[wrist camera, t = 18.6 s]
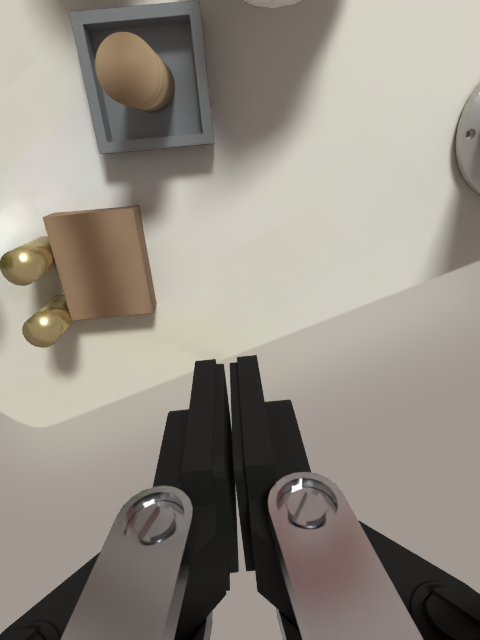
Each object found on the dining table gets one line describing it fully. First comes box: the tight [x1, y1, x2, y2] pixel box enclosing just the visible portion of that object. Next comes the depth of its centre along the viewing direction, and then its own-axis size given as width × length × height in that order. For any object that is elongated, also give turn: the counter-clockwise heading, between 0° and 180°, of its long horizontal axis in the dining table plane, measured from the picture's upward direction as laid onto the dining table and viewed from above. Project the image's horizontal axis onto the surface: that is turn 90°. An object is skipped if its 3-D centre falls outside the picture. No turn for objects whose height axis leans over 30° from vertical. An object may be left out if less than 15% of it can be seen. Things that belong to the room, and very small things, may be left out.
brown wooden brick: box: [43, 206, 156, 320], centre depth 37 cm, size 8×10×3 cm
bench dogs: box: [0, 236, 74, 348], centre depth 36 cm, size 3×9×6 cm, turn 5°
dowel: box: [95, 32, 175, 112], centre depth 28 cm, size 4×4×8 cm
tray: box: [69, 0, 214, 154], centre depth 31 cm, size 10×10×2 cm
